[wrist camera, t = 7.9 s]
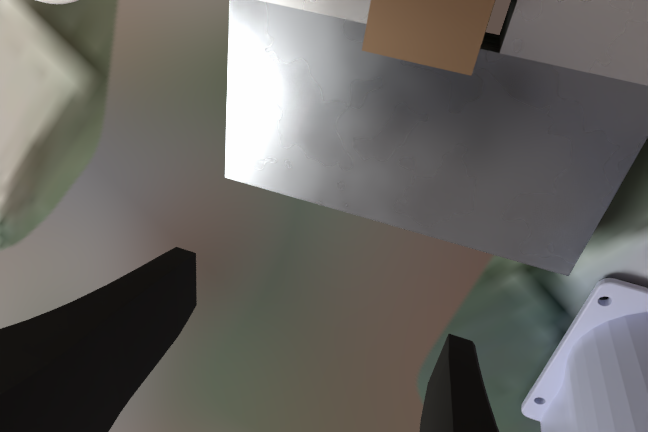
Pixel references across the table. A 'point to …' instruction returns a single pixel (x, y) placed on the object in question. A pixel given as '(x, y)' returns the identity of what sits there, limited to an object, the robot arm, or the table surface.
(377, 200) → the square steel tile
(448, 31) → the brown wooden block
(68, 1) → the wineglass
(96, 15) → the table surface
